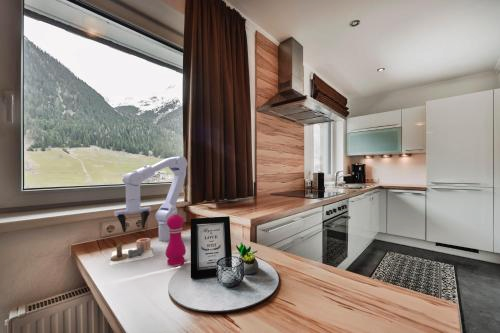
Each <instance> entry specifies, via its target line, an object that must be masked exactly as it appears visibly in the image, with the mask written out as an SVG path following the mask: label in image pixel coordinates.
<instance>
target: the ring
mask: <svg viewBox="0 0 500 333" xmlns="http://www.w3.org/2000/svg"><path fill="white" fill-rule="evenodd" d="M141 245H144V251H146V250H149V249H150V248H151V249H152V246H151V238H150V237H145V238H139V239H137V240H136V248H137V249H138V248H140V246H141ZM150 246H151V247H150Z"/></svg>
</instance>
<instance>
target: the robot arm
mask: <svg viewBox="0 0 500 333" xmlns="http://www.w3.org/2000/svg"><path fill="white" fill-rule="evenodd" d="M188 164H189V163H188V161H187V159H186V157H185V156H182V155H179V156H169V157H168V158H167V157H166V158H164V159H162V160H161V161H159V162H156V163H155V164H153V165H149V164H148V165H146V164H144V165H142V167H140V168H138V169H133V172H128V173H126V174H125V175H124V177H123V179H122V183H123V184H124V186H125V209H121V210H114V211H113V212H114V213H113V215H114V217H116V218H117V219H118V221H119V224H120V226H121V229H122V232H123V233H126V231H127V229H126V220H127V219H126V218H127V217H126V215H130V214H131V215H133V214H139V213H140V217H141V218H140V219H141V222H140V223H141V224H140V226H141V229H145V227H146V223H147V219H148V217H149V215H150V212H151V211H152V207H151V206H144V207H141V184H142V183H143V182H144V181H146V180H147V179H150V178H152V177H154V176H155V174H156V172H158V171H161V170H163V169H165V168H168V169H170V171H171V172H172V173H173V175H174V176H173V180H172V181H171V182H172V183H171V185H170V187H169V189H168V192H167V194H166V195H167V196H166V198H165V201H164V203H162V205H160V207H159V209H158V210H157V211H156V212H155V217H154V218H155V220H157V224H158V241H159V242H169V240H170V233H169V232H168V231H169V230H168V229H169V227H168V225H167V220H168V218H169V217H170V216H172V215H173V212H174V211H177V212H178V208H177V207H176V205H177V201H178V200H179V199H178V198H179V196H180V193H181V191H182V187H183V184H184V182H185V179H186V175H187V167H188Z"/></svg>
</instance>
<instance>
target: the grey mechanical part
mask: <svg viewBox="0 0 500 333" xmlns="http://www.w3.org/2000/svg"><path fill="white" fill-rule="evenodd" d="M142 253H144V245H141V246H140V248H138V249H136V250H128V258H132V257H136V256H141V255H142Z"/></svg>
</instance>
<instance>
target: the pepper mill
mask: <svg viewBox="0 0 500 333" xmlns="http://www.w3.org/2000/svg"><path fill="white" fill-rule="evenodd" d="M167 225H168V227H169V229H168V230H169V231H168V232H169V233H170V240H169V241H168V243H167V244H168V245H167V246H166V248H165V249H166V250H165V257H166V259H167V260H166V262H167V265H168V266H173V268H178V267H180V266H183V265H184V264H185V255H186V251H187V250H186V247H185V246H186V245H185V244H184V241H183V239H182V232H183V227H182V226H183V225H184V218H183V216H182V215H180V214H178V210H177V211H174V212H173V215H172V216H170V217H169V218H168V220H167Z"/></svg>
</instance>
